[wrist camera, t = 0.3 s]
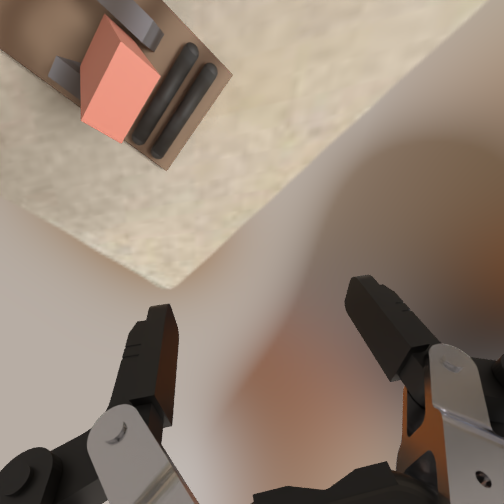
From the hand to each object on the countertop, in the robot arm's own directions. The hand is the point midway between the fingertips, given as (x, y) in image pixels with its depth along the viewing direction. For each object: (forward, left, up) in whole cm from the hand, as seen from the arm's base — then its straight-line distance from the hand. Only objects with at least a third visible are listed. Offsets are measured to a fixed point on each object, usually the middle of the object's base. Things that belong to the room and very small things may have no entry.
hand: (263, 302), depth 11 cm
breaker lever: (-11, -12, -23) cm, 28 cm away
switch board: (-11, -12, -28) cm, 33 cm away
